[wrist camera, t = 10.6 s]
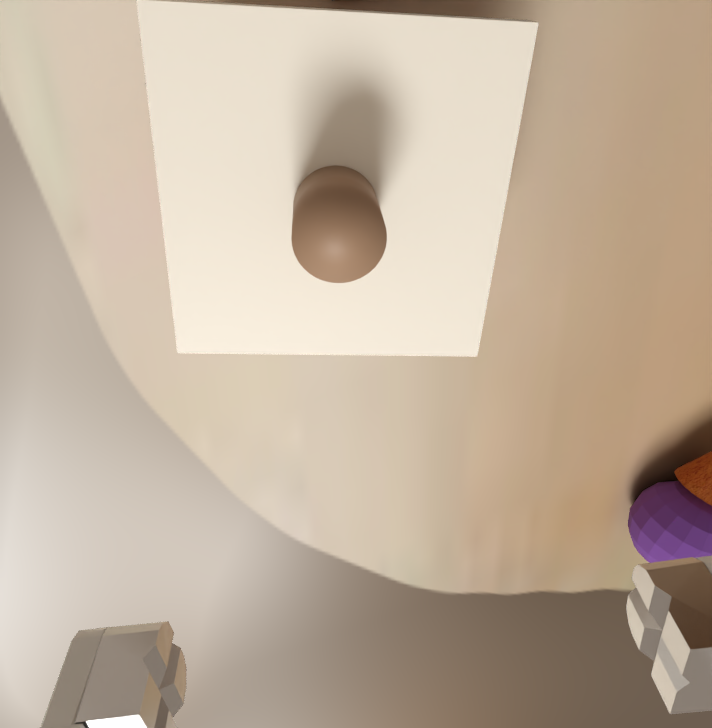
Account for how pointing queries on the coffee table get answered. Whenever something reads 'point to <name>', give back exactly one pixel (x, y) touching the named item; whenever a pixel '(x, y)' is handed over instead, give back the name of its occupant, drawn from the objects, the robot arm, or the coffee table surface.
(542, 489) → the coffee table surface
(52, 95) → the coffee table surface
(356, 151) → the lid
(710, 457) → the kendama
